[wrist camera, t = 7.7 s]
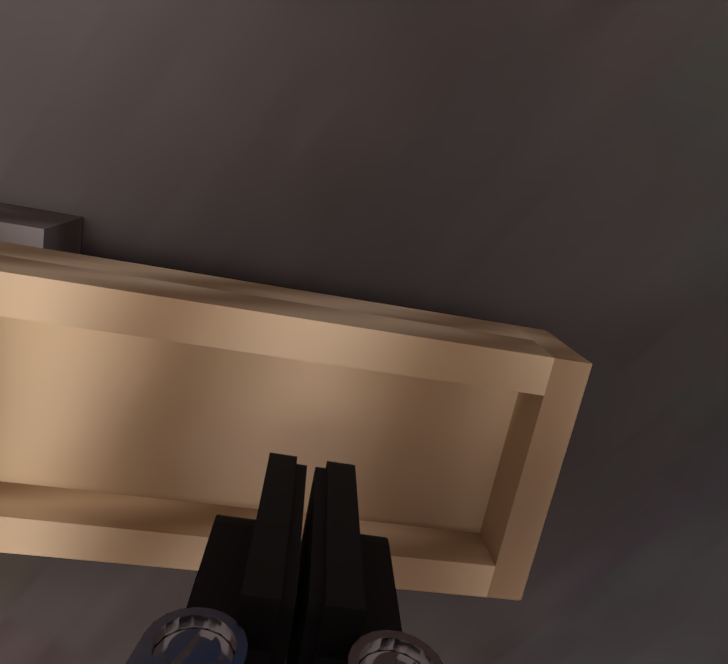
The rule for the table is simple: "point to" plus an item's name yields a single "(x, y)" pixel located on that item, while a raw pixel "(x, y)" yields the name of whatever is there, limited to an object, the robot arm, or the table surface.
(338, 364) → the beam
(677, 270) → the table surface
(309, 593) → the robot arm
